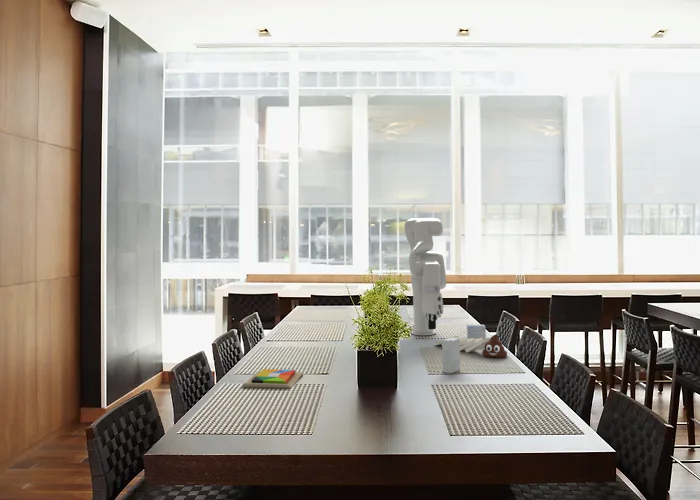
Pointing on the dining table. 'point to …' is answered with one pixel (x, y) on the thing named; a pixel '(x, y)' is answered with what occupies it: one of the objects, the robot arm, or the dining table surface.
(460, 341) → the domino
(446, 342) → the skincare box
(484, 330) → the medicine box
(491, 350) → the poop emoji
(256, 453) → the dining table surface
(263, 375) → the wooden puzzle
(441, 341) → the domino
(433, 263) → the robot arm
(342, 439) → the dining table surface
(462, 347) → the domino
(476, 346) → the domino
